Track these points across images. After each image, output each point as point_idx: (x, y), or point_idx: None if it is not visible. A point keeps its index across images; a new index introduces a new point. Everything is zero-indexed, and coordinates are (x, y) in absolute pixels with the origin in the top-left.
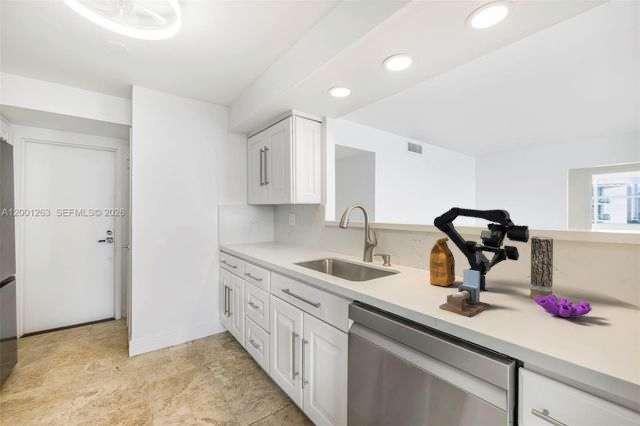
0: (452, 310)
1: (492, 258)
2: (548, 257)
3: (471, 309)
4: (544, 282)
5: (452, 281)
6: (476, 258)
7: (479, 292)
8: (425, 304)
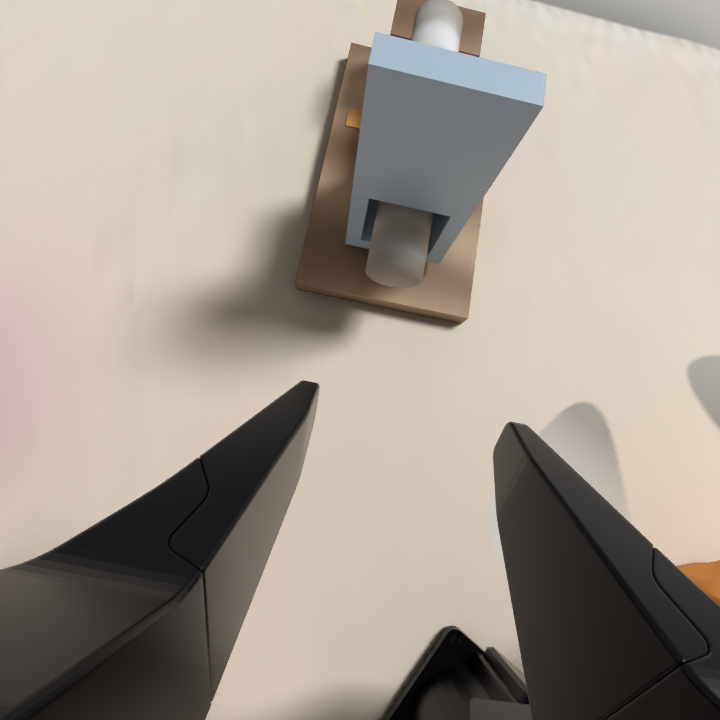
0: None
1: (259, 474)
2: None
3: (355, 110)
4: None
5: None
6: (600, 496)
7: (350, 205)
8: (566, 110)
